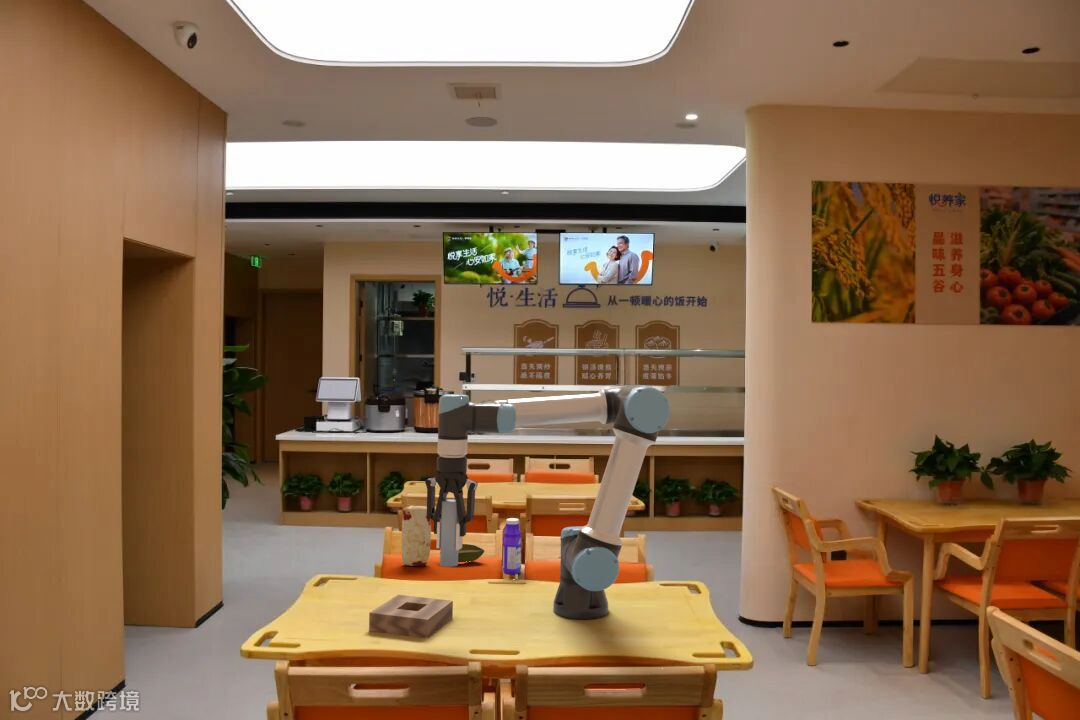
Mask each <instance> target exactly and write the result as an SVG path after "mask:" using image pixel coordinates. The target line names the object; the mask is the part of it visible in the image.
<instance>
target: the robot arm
mask: <svg viewBox="0 0 1080 720" xmlns="http://www.w3.org/2000/svg"><path fill="white" fill-rule="evenodd" d="M438 403H439V404H438V405H439V406H438V421H437V422H438V423H437V424H438V425H437V435H438V436H437V451H436V452H437V454H438V457H436V475H434V477H431V478H428V479H426V480H425V481H424V483H425V486H426V507H427V518H430V519H431V521H433V534H434V535H436V549H440V546H441V515H442V501H444V500H447V497H448V494H449V493H452V495H453V497H454V500H456V506H457V512H458V517H459V522H458V523H457V524H456V550H460V549H461V548H462V544H463V539H464V538H463V537H465V536H466V535H467V523H470V522H472V521H474V519H475V505H476V503H475V501H476V490H477V488H478V485H479V484H478V481H473V480H471V479H469V477H468V475H467V471H468V458H467V456H466V455H467V454H468V441H469V440H468V438H469V436H468V435H469V433H484V434H485V433H486V434H487V433H490V434H500V435H501V434H512V433H513V432H514V431H515V430H516V427H526V426H527V427H528V426H530V427H531V426H541V425H543V426H544V425H557V424H573V423H588V422H600V423H601V424H602V425H610V424H611V425H613V426H612V431H613V433H614V435H615V439H614V442H613V445H612V448H611V451H610V454H609V457H608V461H607V463H606V467H605V470H604V472H603V476H602V479H601V481H600V485H599V489H598V490H597V494H596V497H595V500H594V503H593V507H592V510H591V512H590V514H589V515H590V516H589V519H588V522H587V524H586V525H584V526H567V527H564V528H563V529H562V530H561V532H560V538H559V540H560V567H559V568H560V574H559V575H560V576H559V577H560V578H559V580H560V581H559V585H558V588H557V590H556V593H555V597H554V600H553V604H552V605H553V610H552V611H553V612H554V613H555V614H556V615H558V616H561V617H563V618H569V619H575V620H591V619H592V620H593V619H599V618H602V617H604V616H606V615H608V613H609V602H608V598H607V594H606V591H605V590H606V589H608V588H609V587H611V586H612V585H613V584H614V583H615V582H616V580H617V578H618V576H619V573H620V562H619V556H620V552H621V549H622V546H623V541H622V539H621V537H620V533H621V530H622V528H623V524H624V521H625V519H626V515H627V512H628V509H629V506H630V502H631V499H632V496H633V494H634V491H635V487H636V484H637V481H638V478H639V475H640V471H641V468H642V466H643V463H644V459H645V456H646V453H647V450H648V448H649V447H650V446H652V445H654V444H656V442H657V438H658V436H659V432H660V430H662V429H663V428H664V427H665V426H666V424H667V423H668V422H669V421H668V420H670V416H671V415H670V414H671V407H670V402H669V401H668V398H667V397H666V395H665V394H664V393H663V392H662V391H661V390H659V389H657V388H655V387H653V386H650V385H646V384H643V385H641V384H640V385H639V384H628V385H623V386H619V387H614V388H612V387H611V388H607V389H606V388H605V389H602V388H601V389H600V390H599V391H598V392H597V393H586V394H585V393H584V394H582V393H581V394H571V395H568V394H567V395H555V396H539V397H524V398H523V397H522V398H509V399H497V400H494V399H485V400H483V401H480V402H478V403H477V402H470V397H469V395H467V394H455V393H454V394H453V393H451V394H442V395H441V396H440V398H439V402H438ZM437 485H438V487H439V492H438V499H437V503H436V486H437ZM465 485H466V489H467V494H466V504H465V500H464V491H463V490H464V489H463V488H464V487H465Z"/></svg>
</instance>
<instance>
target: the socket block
mask: <svg viewBox="0 0 1080 720" xmlns="http://www.w3.org/2000/svg"><path fill="white" fill-rule="evenodd" d="M453 604H454V600H450V599H440V598H431V597H421V596H415V595H412V596H411V595H405V594H397V595H395V596H394V597H392V598H391V599H389V600H388V601H386V602H384V603H383V604H381V605H379V606H378V607H376V608H375V609H372V611H370V612H369V613H368V615H369V618H368V621H369V622H368V631H369V632H370V631H371V632H379V633H385V634H386V633H387V634H395V635H403V636H410V637H419V638H425V639H426V638H429V637H430V636H432V635H433V634H434V633H435V632H436V631H438V630H439V629H440V628H441V627H443V626H444V625H445V624H447V623H448V622H449V621H451V619H453V617H454V616H453V615H454V614H453V613H454V612H453V611H454V605H453Z"/></svg>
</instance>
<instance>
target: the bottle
mask: <svg viewBox="0 0 1080 720" xmlns="http://www.w3.org/2000/svg"><path fill="white" fill-rule="evenodd" d="M505 524H506V525H505V529H504V531H503V534H504V537H503V539H502V540H503V543H502V546H503V547H502V551H503V553H502V572H503V574H504V575H506V576H507V575H508V576H515V575H518V574H520V572H521V570H522V536H521V534H522V531H521V530H520V519H519V518H515V517H510V518H507V519H506V523H505Z"/></svg>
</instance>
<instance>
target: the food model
mask: <svg viewBox="0 0 1080 720" xmlns="http://www.w3.org/2000/svg"><path fill="white" fill-rule="evenodd" d="M431 521H432V519H430V518H427V505H425V506H424V505H410V506H406V507H404V508H403V509H402V523H401V563H402V564H404V565H406V566H411V567H413V566H414V567H415V566H416V567H423V566H426V565H427V564H428V562H429V558H430V554H431V545H432V544H431V543H432V523H431Z"/></svg>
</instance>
